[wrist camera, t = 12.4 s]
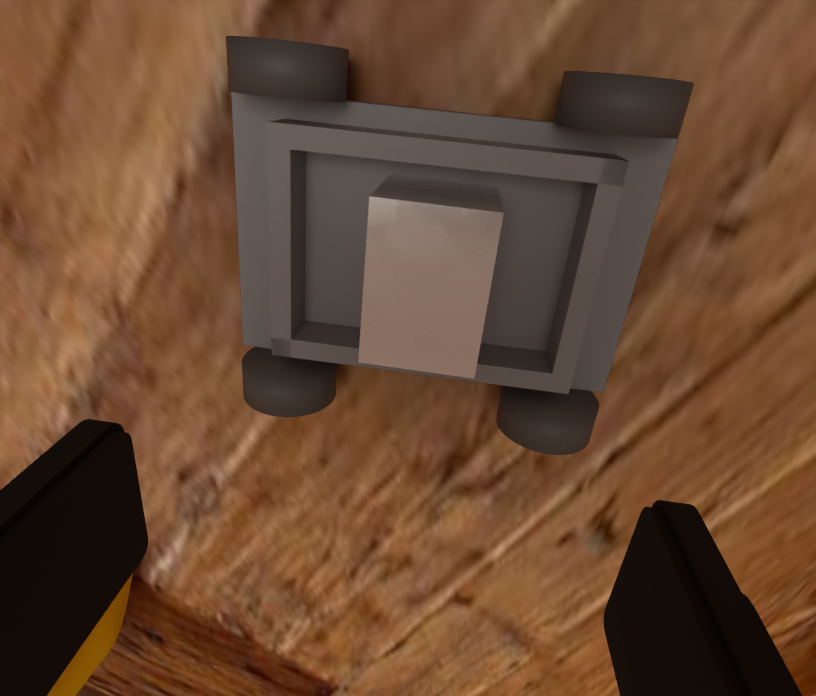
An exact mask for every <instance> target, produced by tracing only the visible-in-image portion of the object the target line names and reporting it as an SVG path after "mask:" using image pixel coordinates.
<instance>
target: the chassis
mask: <svg viewBox="0 0 816 696" xmlns="http://www.w3.org/2000/svg"><path fill="white" fill-rule="evenodd" d="M226 46H227V66H228V87H229V91H230V92H231V93H232V114H233V136H234V157H235V178H236V199H237V221H238V242H239V263H240V284H241V306H242V327H243V345H246V346H254V348H253V349H251V350H249V351H248V352H247V353H246V354H245V355H244V357H243V359H242V372H243V392H244V399H245V401H246V402H247V404H248V405H249V406H250V407H252V408H253V409H255V410H257V411H259V412H261V413H264V414H268V415H272V416H279V417H297V416H304V415H309V414H312V413H315V412H318V411H320V410H322V409H324V408H325V407H327V406H328V405H329V404H330V403H331V402H332V401H333V400H334V398H335V394H336V369H337V363H338V364H345V365H353V366H360V367H368V368H375V369H383V370H390V371H398V372H405V373H413V374H421V375H428V376H436V377H443V378H451V379H458V380H466V381H473V382H481V383H488V384H496V385H503V387H502V392H501V397H500V402H499V407H498V412H497V419H496V420H497V424H498V427H499V428H500V430H501V431H502V432H503V433H504V434H505V435H506V436H507V437H508V438H509V439H511V440H512V441H514V442H515V443H517V444H519V445H521V446H523V447H525V448H527V449H530V450H533V451H536V452H540V453H545V454H553V455H565V454H572V453H575V452H578V451H580V450H582V449H584V448H585V447H586V446H587V444H588V443H589V440H590V436H591V433H592V429H593V426H594V423H595V419H596V416H597V412H598V409H599V403H598V400H597V398H596V397H595V395H594V394H593V393H592V392H591V391H595V392H602V393H603V392H604V389H605V385H606V382H607V379H608V375H609V372H610V368H611V365H612V361H613V358H614V355H615V351H616V348H617V344H618V341H619V338H620V334H621V331H622V327H623V324H624V321H625V317H626V314H627V310H628V307H629V304H630V300H631V297H632V293H633V290H634V287H635V283H636V280H637V276H638V273H639V270H640V266H641V263H642V259H643V256H644V252H645V249H646V246H647V242H648V239H649V235H650V232H651V229H652V225H653V222H654V218H655V215H656V212H657V208H658V205H659V201H660V198H661V195H662V191H663V188H664V184H665V181H666V178H667V174H668V171H669V167H670V164H671V161H672V157H673V154H674V150H675V147H676V143H677V140H678V137H679V133H680V130H681V126H682V123H683V119H684V116H685V113H686V109H687V106H688V102H689V99H690V95H691V92H692V89H693V85H694V83H692V82H686V81H680V80H672V79H664V78H655V77H646V76H635V75H624V74H612V73H598V72H580V71H565V72H564V76H563V81H562V86H561V91H560V96H559V102H558V107H557V112H556V117H555V122H550V121H540V120H531V119H521V118H512V117H502V116H493V115H483V114H474V113H464V112H455V111H446V110H436V109H427V108H417V107H408V106H398V105H389V104H379V103H370V102H360V101H351V100H347V84H348V58H349V50H347V49H343V48H337V47H331V46H324V45H317V44H310V43H302V42H294V41H285V40H276V39H266V38H255V37H243V36H226ZM390 174H397V175H405V176H414V177H422V178H430V179H439V180H447V181H455V182H464V183H472V184H480V185H488V186H497V189H498V193H499V197H500V200H501V204H502V208H503V212H504V215H503V220H502V226H501V232H500V237H499V243H498V248H497V254H496V260H495V265H494V271H493V277H492V282H491V288H490V294H489V299H488V305H487V311H486V316H485V322H484V327H483V333H482V339H481V344H480V350H479V356H478V361H477V367H476V373H475V378H474V379H473V378H466V377H459V376H452V375H444V374H437V373H430V372H423V371H416V370H408V369H401V368H394V367H387V366H380V365H373V364H365V363H358V358H359V343H360V328H361V313H362V298H363V283H364V268H365V253H366V238H367V223H368V208H369V196H370V195H371V194H372V193H373V192H374V191H375V190H376V189H377V188H378V187H379V186H380V185H381V184H382V183H383V181H384V180H385V179H386V178H387V177H388V176H389V175H390Z"/></svg>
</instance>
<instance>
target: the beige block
mask: <svg viewBox="0 0 816 696" xmlns="http://www.w3.org/2000/svg"><path fill="white" fill-rule="evenodd" d="M503 215H504V212H503V208H502V204H501V200H500V197H499V193H498V189H497V186H488V185H480V184H472V183H464V182H455V181H447V180H439V179H430V178H422V177H414V176H405V175H397V174H390V175H389V176H388V177H387V178H386V179H385V180H384V181H383V183H382V184H381V185H380V186H379V187H378V188H377V189H376V190H375V191H374V192H373V193H372V194H371V195H370V196H369V208H368V223H367V238H366V253H365V268H364V283H363V298H362V313H361V328H360V343H359V358H358V363H365V364H373V365H380V366H387V367H394V368H401V369H408V370H416V371H423V372H430V373H437V374H444V375H452V376H459V377H466V378H473V379H474V378H475V373H476V367H477V361H478V356H479V350H480V344H481V339H482V333H483V327H484V322H485V316H486V311H487V305H488V299H489V294H490V288H491V282H492V277H493V271H494V265H495V260H496V254H497V248H498V243H499V237H500V232H501V226H502V220H503Z"/></svg>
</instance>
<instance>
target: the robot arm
mask: <svg viewBox="0 0 816 696" xmlns="http://www.w3.org/2000/svg"><path fill="white" fill-rule="evenodd" d="M147 546H148V535H147V529H146V523H145V517H144V511H143V505H142V499H141V493H140V487H139V481H138V475H137V469H136V463H135V457H134V451H133V445H132V439H131V436H130V435H129V434H128V433H126V432H124V429H123V427H122V426H121V425H120V424H118V423H112V422H105V421H98V420H91V419H87V420H84V421H82V422H80V423H79V424H78V425H77V426H75V427H74V428H73V429H72V430H71V431H70V432H68V433H67V434H66V435H65V436H64V437H62V438H61V439H60V440H59V441H58V442H57V443H55V444H54V445H53V446H52V447H51V448H50V449H48V450H47V451H46V452H45V453H44V454H43V455H41V456H40V457H39V458H38V459H37V460H35V461H34V462H33V463H32V464H31V465H30V466H28V467H27V468H26V469H25V470H24V471H23V472H21V473H20V474H19V475H18V476H17V477H16V478H14V479H13V480H12V481H11V482H10V483H9V484H7V485H6V486H5V487H4V488H3V489H1V490H0V696H47V695H48V693H49V692H50V690H51V689H52V688H53V686H54V685H55V683H56V682H57V680H58V679H59V678H60V676H61V675H62V673H63V672H64V670H65V669H66V668H67V666H68V665H69V663H70V662H71V660H72V659H73V658H74V656H75V655H76V653H77V652H78V650H79V649H80V648H81V646H82V645H83V643H84V642H85V640H86V639H87V638H88V636H89V635H90V633H91V632H92V630H93V629H94V628H95V626H96V625H97V623H98V622H99V620H100V619H101V618H102V616H103V615H104V613H105V612H106V610H107V609H108V608H109V606H110V605H111V603H112V602H113V600H114V599H115V598H116V596H117V595H118V593H119V592H120V590H121V589H122V588H123V586H124V585H125V583H126V582H127V580H128V579H129V578H130V576H131V575H132V573H133V572H134V570H135V569H136V568H137V566H138V565H139V563H140V562H141V560H142V559H143V557H144V555H145V553H146V550H147ZM604 630H605V635H606V639H607V643H608V647H609V651H610V655H611V659H612V663H613V667H614V672H615V676H616V680H617V684H618V688H619V692H620V696H802V694H801V692H800V691H799V689H798V687H797V685H796V683H795V681H794V680H793V678H792V676H791V674H790V672H789V670H788V668H787V667H786V665H785V663H784V661H783V659H782V657H781V656H780V654H779V652H778V650H777V648H776V646H775V645H774V643H773V641H772V639H771V637H770V635H769V633H768V632H767V630H766V628H765V626H764V624H763V622H762V621H761V619H760V617H759V615H758V613H757V611H756V610H755V608H754V606H753V605H752V603H751V602H750V600H749V599H748V597H746V596H745V595H744V594H743V593H741V591H740V589H739V587H738V585H737V583H736V581H735V580H734V578H733V576H732V574H731V572H730V570H729V568H728V566H727V565H726V563H725V561H724V559H723V557H722V555H721V553H720V551H719V550H718V548H717V546H716V544H715V542H714V540H713V538H712V536H711V535H710V533H709V531H708V529H707V527H706V525H705V523H704V521H703V520H702V518H701V516H700V514H699V512H698V510H697V509H696V508H695V507H694V506H693V505H690V504H683V503H676V502H669V501H662V500H658V501H656V502H655V503H654V504H653V506H652V508H651V507H645V508H644V509H643V510H642V512H641V514H640V517H639V519H638V522H637V525H636V528H635V530H634V533H633V536H632V538H631V541H630V544H629V546H628V549H627V552H626V554H625V557H624V560H623V563H622V565H621V568H620V571H619V573H618V576H617V579H616V581H615V584H614V587H613V589H612V592H611V595H610V598H609V600H608V603H607V606H606V608H605V612H604Z"/></svg>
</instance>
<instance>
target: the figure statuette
mask: <svg viewBox="0 0 816 696" xmlns="http://www.w3.org/2000/svg"><path fill="white" fill-rule="evenodd" d="M132 575H133V573H132ZM132 575H131V576H130V578H129V579H128V580H127V582H126V583H125V585H124V586H123V588H122V589H121V590H120V592H119V593H118V595H117V596H116V598H115V599H114V600H113V602H112V603H111V605H110V606H109V608H108V609H107V610H106V612H105V613H104V615H103V616H102V618H101V619H100V620H99V622H98V623H97V625H96V626H95V628H94V629H93V630H92V632H91V633H90V635H89V636H88V638H87V639H86V640H85V642H84V643H83V645H82V646H81V648H80V649H79V650H78V652H77V653H76V655H75V656H74V658H73V659H72V660H71V662H70V663H69V665H68V666H67V668H66V669H65V670H64V672H63V673H62V675H61V676H60V678H59V679H58V680H57V682H56V683H55V685H54V686H53V688H52V689H51V690H50V692H49V693H48V695H47V696H76V694H77V693H78V692H79V690H80V689H81V688H82V686H83V685H84V684H85V682H86V681H87V680H88V678H89V677H90V676H91V674H92V673H93V672H94V670H95V669H96V668H97V666H98V665H99V664H100V663H101V661H102V660H103V659H104V658H105V656H106V655H107V654H108V652H109V651H110V649H111V648H112V646H113V645H114V643H115V641H116V639H117V637H118V634H119V632H120V629H121V626H122V622H123V619H124V615H125V611H126V606H127V601H128V597H129V591H130V586H131V580H132Z"/></svg>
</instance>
